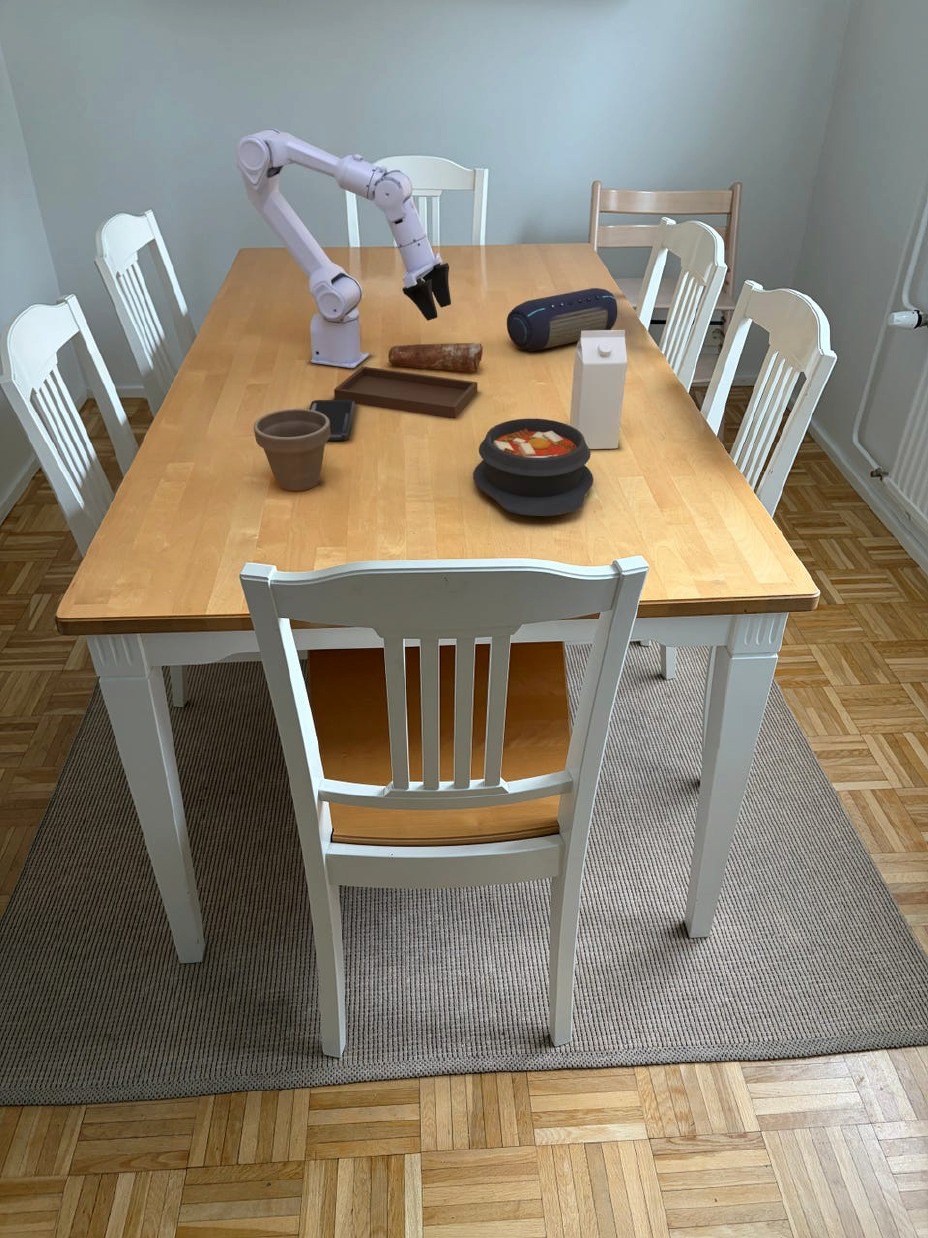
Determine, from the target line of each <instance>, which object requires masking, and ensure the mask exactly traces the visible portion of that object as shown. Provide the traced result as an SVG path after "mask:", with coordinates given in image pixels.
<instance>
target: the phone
mask: <svg viewBox="0 0 928 1238" xmlns="http://www.w3.org/2000/svg"><path fill="white" fill-rule="evenodd" d="M355 404H356V403H355V402H354V401H352V400H335V399H315V400H312V401H311V402H310V406H309V409H308V410H313V411H317V412H320V413H322V414H324V415H326V416H327V417H328V419H329V421H330V438H329V439H328V441H327V442H344V441H347V440H349V439H350V435H351V430H352V424H353V421H354V416H355V415H354V414H355V410H356V405H355Z"/></svg>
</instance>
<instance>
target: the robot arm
mask: <svg viewBox="0 0 928 1238" xmlns="http://www.w3.org/2000/svg"><path fill="white" fill-rule="evenodd" d="M235 154H236V155H235V160H234V164H235V165H236V167H237V168H238V169H239V171H240V173H241V176H242V181H243V183H244V187H245V192H246V195H247V197H248V199H249V201H250V202H251V204H252V205H253V206H254V208H255V209H256V210H257V212H258V213H259V214H260V216H261V217H262V218H263V220H264V221H265V223H266V224H267V225H268V227H269V228H270V229H271V231H272V232H273V233H274V235H275V236H276V237H277V239H278V240H279V241H280V243H281V244H282V245H283V247H284V248H285V249H286V251H287V252H288V253H289V255H290V256H291V258H292V259H293V260H294V261H295V263H296V264H297V265H298V267H299V268H300V269H301V271H302V272H303V273H304V275H305V277H307V279H308V286H309V293H310V295H311V296H312V297H313V299H314V301H315V304H316V309H317V311H318V313H316V314H314V315H313V317H312V318H311V321H310V327H309V334H310V335H309V336H310V346H311V357H312V358H311V360H310V362H311V363H312V364H317V365H324V366H326V365H327V366H332V367H340V368H346V369H355V368H356V367H357V366H359V365H360V364H361V363H362V362H363V361H364V360H366V359H367V358H368V357H369V356H370V353H368V352H362V343H361V327H360V312H359V309H358V305H359V304H360V302H361V301H362V298H363V289H362V286H361V284H360V283H359V280H357V279H356V278H354V277H353V276H351V275H350V274H348V273H347V272H346V271H345V269H344V268H343V267H342V266H340V265H338V264H336V263H334V262H333V261H331V260H330V259H329V257H328V256H327V254H326V253H325V252H324V250H323V249H322V248H321V246H320V244H319V243H318V241H317V240H315V238H314V237H313V235H312V234H311V232H310V231H309V230H308V228H307V227H306V226H305V224H304V223H303V221H302V220H301V219H300V217H299V215H297V213H296V212H295V210H294V209H293V208H292V206H291V205H290V204H289V202H288V201H287V200H286V198H285V197H284V196H283V194H282V193H281V192H280V189H279V188H280V178H281V173H282V171H283V168H284V166H287V165H292V164H295V165H297V166H301V167H303V168H305V169H309V170H312V171H315V172H317V173H320V174H322V175H325V176H329V177H332V178H334V180H336V183H337V185H338V187H339V188H340V189H342V190H344V191H347V192H350V193H351V194H355V195H357V196H359V197H362V198H364V199H366V200H369V201H371V202H373V203H374V205H375V206H376V207H377V208H378V209H379V210H380V211H382V212H383V213H384V216H385V218H386V220H387V224H388V226H389V229H390V231H391V233H392V237H393V239H394V241H395V244H396V246H397V250H398V251H399V254H400V256H401V259H402V261H403V264H404V268H405V270H406V271H405V273H404V276H403V277H402V281H403V283H404V286H403V287H402V289H401V290H402V292H403V295H405V296H406V297H407V298H408V299H409V300H411V301H412V303H414V304H415V306H416V307H417V308H418V310H419V311H420V312H421V315H422V316H423V317H424V318H425V320H426V321H427V322H428V321H432V320H436V319H437V318H438V317H439V316H438V311H437V306H436V302H437V304H438V306H439V307H440V308H441V309H442V308H445V307H448V306H450V305H452V300H451V291H450V285H449V272H450V265H449V263H448V262H446V263H443V260H442V257H441V254H440V252H436V253H434V252H433V249H432V246H431V244H430V241H429V238H428V236H427V233H426V231H425V228H424V225H423V222H422V220H421V218H420V215H419V212H418V210H417V208H416V204H415V202H414V200H413V197H412V194H413V183H412V180H411V179H410V178H409V176H408V175H407V174H406V173H404V172H402V170H400V169H393V170H392V169H391V170H389V171H388V167H386V166H384V165H381V166H378V165H375V164H372V163H370V162H368V161H366V160H364V156H363V155H360V154H359V153H356V154H354V155H351V154H349V155H346V156H345V157H343V158H340V157H338V156H335V155H334V154H331V153H329V152H327V151H325V150H324V149H321V148H318V147H316V146H314V145H312V144H310V143H308V142H306V141H304V140H301V139H299V138H298V137H296V136H294V135H292V134H291V133H289V132H285V131H280V130H278V129H276V128H274V127H267V128H264V129H263V130H261V131H259V132H256V133H253V134H248V135H245V136H243V137H242V138H241V139H240V140H239V141H238V143H237V145H236V153H235ZM434 298H435V299H434ZM435 300H436V302H435Z"/></svg>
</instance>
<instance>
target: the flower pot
mask: <svg viewBox="0 0 928 1238" xmlns="http://www.w3.org/2000/svg"><path fill="white" fill-rule="evenodd" d="M253 432H254V439H255V441H256V444H257V445H258V446H259V447H260V448H262V449H263V451H264V454H265V456H266V460H267V462H268V464H269V467H270V470H271V472H272V475H273V477H274V479H275V482H276V484H277V486H278V487H279V488H281V489H282V490H284V491H285V490H286V491H288V492H289V491H290V492H303V491H307V490H310V489H313V488H314V487H316V486H317V485H318V484H319V482H320V479H321V474H322V469H323V461H324V455H325V448H326V447H325V446H326V443H327V442H329V441H328V439H329V438H330V421H329V419H328V417H327V416H326V415H324V414H322V413H320V412H317V411H313V410H309V409H305V408H290V409H289V408H288V409H281V410H277V411H273V412H269V413H267V414H264V415H263V416H260V417H259V418H258V419H256V420H255V421H254V424H253Z"/></svg>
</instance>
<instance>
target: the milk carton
mask: <svg viewBox="0 0 928 1238" xmlns="http://www.w3.org/2000/svg"><path fill="white" fill-rule="evenodd" d="M625 336H626V329H610V330H596V331H581V338H580V340H579V341H577V344H576V346H575V350H574V361H573V362H574V363H573V373H572V374H573V375H572V384H571V385H572V386H571V400H570V410H569V411H570V412H569V424H568V425H569V426H572V427H573V428H575V429H577V430H578V431H579V432H581V434H582V435H583V436H584V439H585V443H586V444H587V446H588V447H589V449H590V450H606V449H607V450H609V449H618V447H619V439H620V431H621V422H622V412H623V403H624V395H625V386H626V378H627V377H626V376H627V369H628V358H627V357H628V356H627V355H628V354H627V346H626V337H625Z"/></svg>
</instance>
